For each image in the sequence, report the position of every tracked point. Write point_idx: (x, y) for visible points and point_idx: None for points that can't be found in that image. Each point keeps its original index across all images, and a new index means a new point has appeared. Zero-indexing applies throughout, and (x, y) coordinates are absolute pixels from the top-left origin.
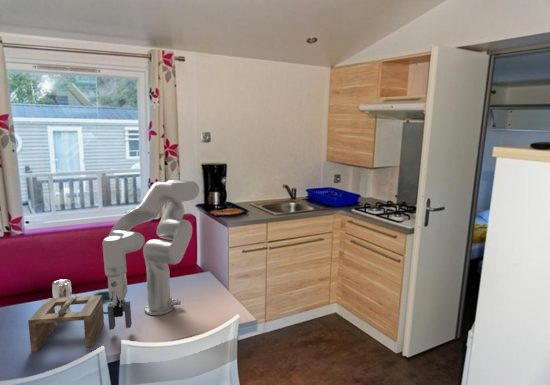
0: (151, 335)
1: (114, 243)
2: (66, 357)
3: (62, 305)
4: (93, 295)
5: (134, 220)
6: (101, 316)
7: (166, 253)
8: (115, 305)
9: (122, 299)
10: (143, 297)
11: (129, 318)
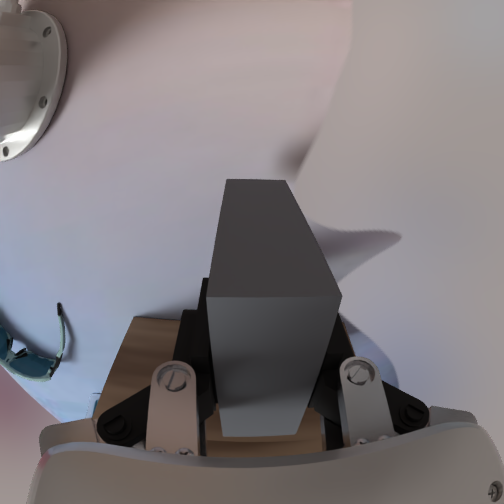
0: (316, 47)
1: None
2: (377, 364)
3: None
4: (16, 371)
5: None
6: (153, 356)
7: None
8: (469, 418)
9: (488, 434)
10: None
11: (298, 207)
